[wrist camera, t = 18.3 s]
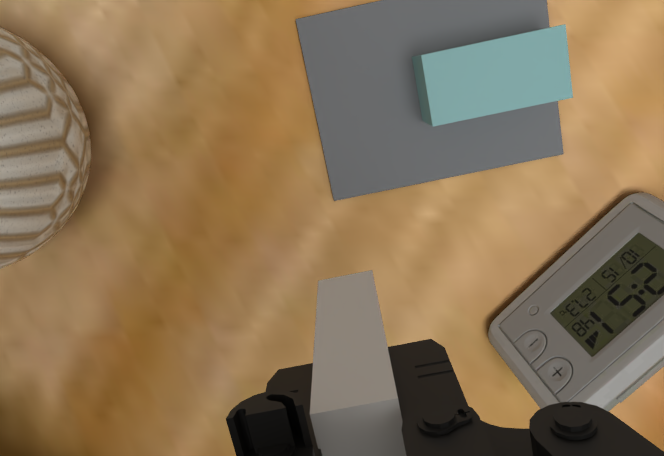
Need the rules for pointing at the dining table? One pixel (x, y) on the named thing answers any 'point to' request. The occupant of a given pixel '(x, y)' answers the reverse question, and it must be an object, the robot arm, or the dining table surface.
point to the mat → (413, 93)
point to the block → (493, 76)
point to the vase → (37, 149)
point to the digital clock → (592, 313)
